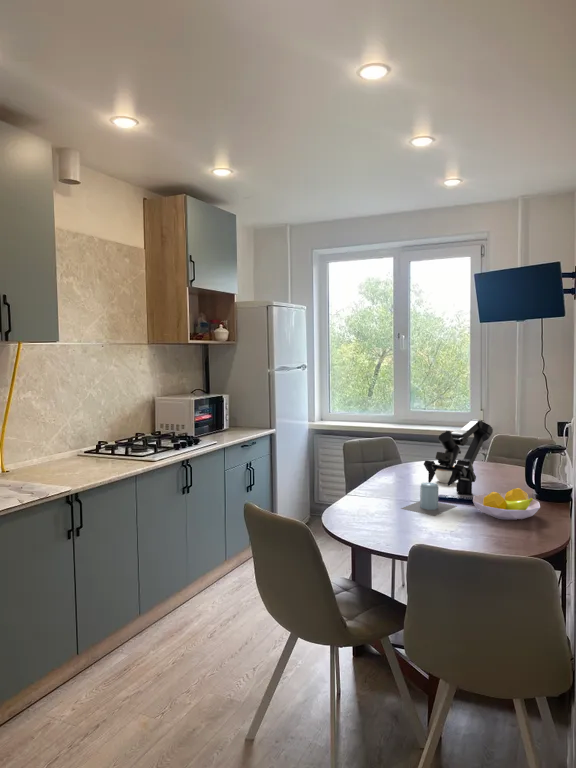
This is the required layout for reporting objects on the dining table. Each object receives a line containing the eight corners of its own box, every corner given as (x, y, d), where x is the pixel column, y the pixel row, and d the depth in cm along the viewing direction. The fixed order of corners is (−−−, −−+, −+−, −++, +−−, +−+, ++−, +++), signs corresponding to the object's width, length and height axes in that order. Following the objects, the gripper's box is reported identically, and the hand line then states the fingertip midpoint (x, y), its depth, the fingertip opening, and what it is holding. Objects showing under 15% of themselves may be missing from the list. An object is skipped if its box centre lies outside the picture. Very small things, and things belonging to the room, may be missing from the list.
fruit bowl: (464, 506, 253) (464, 480, 252) (526, 506, 252) (527, 481, 251) (483, 526, 225) (484, 497, 224) (554, 527, 224) (555, 498, 224)
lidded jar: (456, 484, 292) (457, 466, 291) (434, 483, 294) (435, 465, 293) (455, 479, 302) (455, 462, 302) (433, 478, 304) (434, 461, 304)
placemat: (423, 500, 262) (423, 499, 262) (456, 506, 251) (456, 506, 251) (400, 509, 247) (400, 508, 247) (434, 517, 237) (434, 516, 237)
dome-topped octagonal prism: (425, 504, 254) (426, 481, 254) (440, 507, 250) (440, 484, 249) (417, 507, 249) (418, 484, 248) (432, 510, 244) (432, 487, 244)
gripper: (425, 442, 265) (413, 470, 257) (464, 447, 252) (452, 476, 245) (433, 456, 271) (421, 484, 264) (471, 462, 259) (460, 491, 251)
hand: (438, 483), depth 256 cm, fingers open, 9 cm apart
